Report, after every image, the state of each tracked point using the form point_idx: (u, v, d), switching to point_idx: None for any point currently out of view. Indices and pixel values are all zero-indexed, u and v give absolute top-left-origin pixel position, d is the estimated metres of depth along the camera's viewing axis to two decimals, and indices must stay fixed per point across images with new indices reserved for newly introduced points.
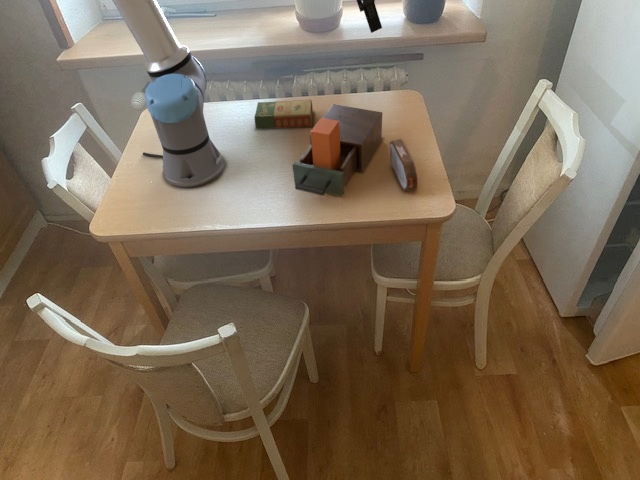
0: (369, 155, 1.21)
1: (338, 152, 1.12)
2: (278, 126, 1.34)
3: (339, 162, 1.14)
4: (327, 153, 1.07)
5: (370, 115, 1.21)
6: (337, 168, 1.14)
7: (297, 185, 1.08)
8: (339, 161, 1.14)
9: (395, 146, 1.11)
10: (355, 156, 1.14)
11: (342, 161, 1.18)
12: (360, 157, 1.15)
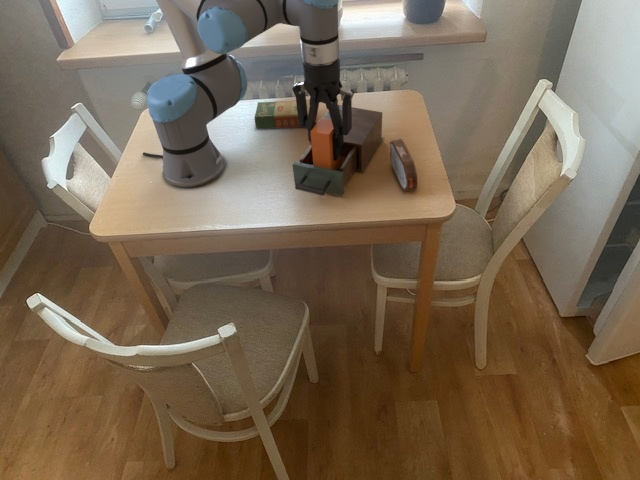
0: (369, 155, 1.21)
1: None
2: (278, 126, 1.34)
3: (339, 162, 1.14)
4: (327, 153, 1.07)
5: (370, 115, 1.21)
6: (337, 168, 1.14)
7: (297, 185, 1.08)
8: (339, 161, 1.14)
9: (395, 146, 1.11)
10: (355, 156, 1.14)
11: (342, 161, 1.18)
12: (360, 157, 1.15)
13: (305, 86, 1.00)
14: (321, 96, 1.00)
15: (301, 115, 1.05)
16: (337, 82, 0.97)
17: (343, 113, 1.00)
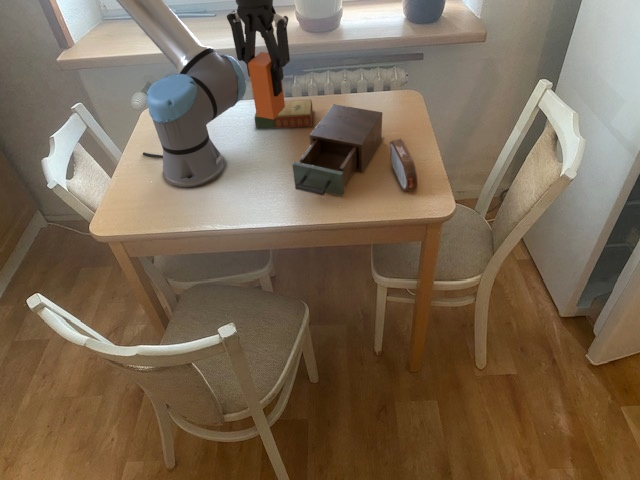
0: (369, 155, 1.21)
1: None
2: (278, 126, 1.34)
3: (282, 100, 1.12)
4: (266, 87, 1.05)
5: (370, 115, 1.21)
6: (280, 106, 1.12)
7: (297, 185, 1.08)
8: (282, 100, 1.12)
9: (395, 146, 1.11)
10: (355, 156, 1.14)
11: (342, 161, 1.18)
12: (360, 157, 1.15)
13: (239, 13, 0.97)
14: (255, 24, 0.97)
15: (238, 47, 1.03)
16: (269, 7, 0.94)
17: (278, 41, 0.98)
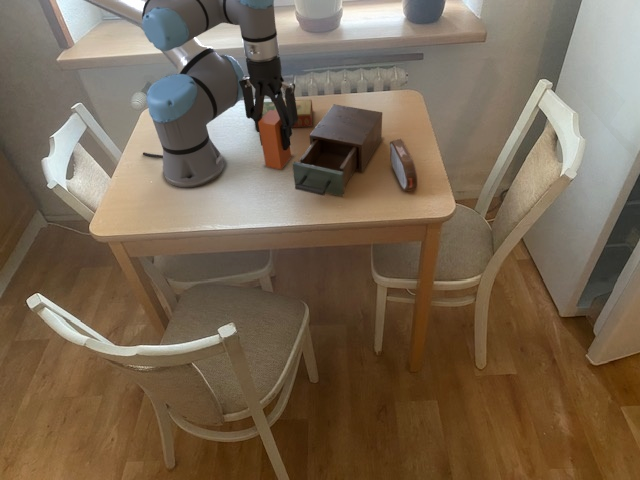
0: (369, 155, 1.21)
1: None
2: None
3: (289, 151, 1.22)
4: (274, 142, 1.15)
5: (370, 115, 1.21)
6: (287, 157, 1.22)
7: (297, 185, 1.08)
8: (289, 151, 1.22)
9: (395, 146, 1.11)
10: (355, 156, 1.14)
11: (342, 161, 1.18)
12: (360, 157, 1.15)
13: (250, 80, 1.08)
14: (265, 90, 1.08)
15: (248, 107, 1.13)
16: (278, 77, 1.05)
17: (287, 105, 1.08)
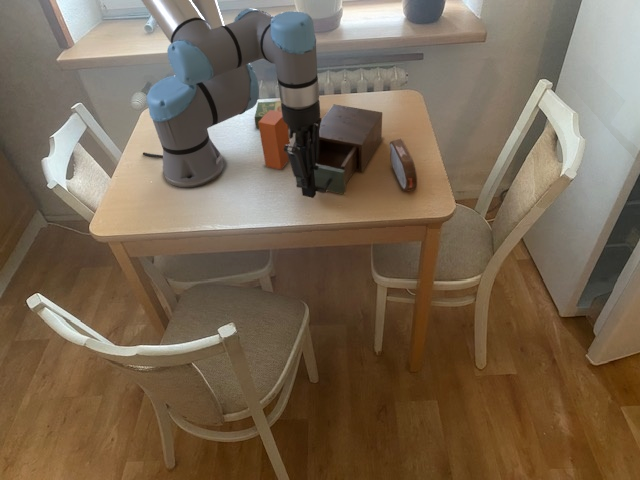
0: (369, 155, 1.21)
1: (287, 142, 1.20)
2: None
3: None
4: (274, 142, 1.15)
5: (370, 115, 1.21)
6: (287, 157, 1.22)
7: (298, 183, 1.08)
8: None
9: (395, 146, 1.11)
10: (356, 154, 1.15)
11: (343, 159, 1.19)
12: (360, 157, 1.15)
13: None
14: None
15: None
16: (290, 128, 0.92)
17: None
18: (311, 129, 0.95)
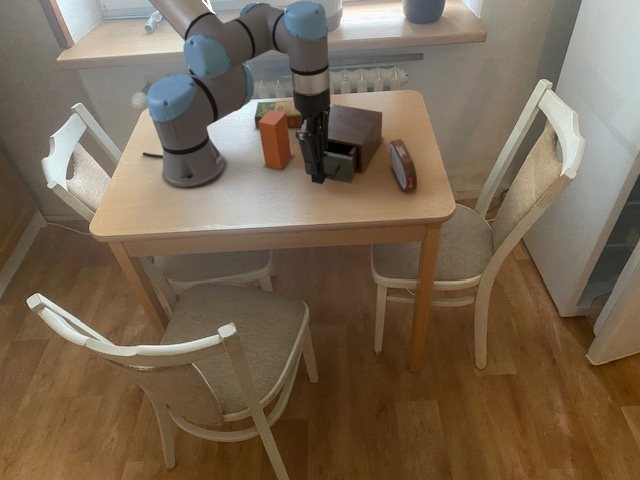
0: (369, 155, 1.21)
1: (287, 142, 1.20)
2: None
3: (289, 151, 1.22)
4: (274, 142, 1.15)
5: (370, 115, 1.21)
6: (287, 157, 1.22)
7: (308, 170, 1.11)
8: (289, 151, 1.22)
9: (395, 146, 1.11)
10: None
11: (351, 148, 1.22)
12: (360, 157, 1.15)
13: None
14: None
15: None
16: (302, 115, 0.95)
17: None
18: (321, 116, 0.99)
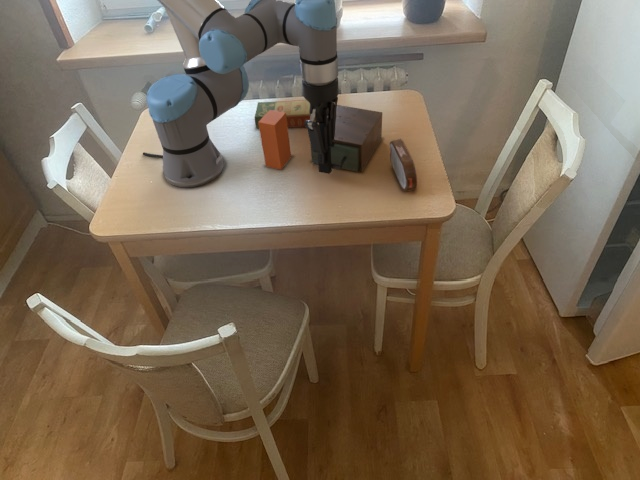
0: (369, 155, 1.21)
1: (287, 142, 1.20)
2: None
3: (289, 151, 1.22)
4: (274, 142, 1.15)
5: (370, 115, 1.21)
6: (287, 157, 1.22)
7: (315, 160, 1.14)
8: (289, 151, 1.22)
9: (395, 146, 1.11)
10: None
11: None
12: (360, 157, 1.15)
13: None
14: None
15: None
16: (311, 104, 0.98)
17: None
18: (329, 106, 1.01)
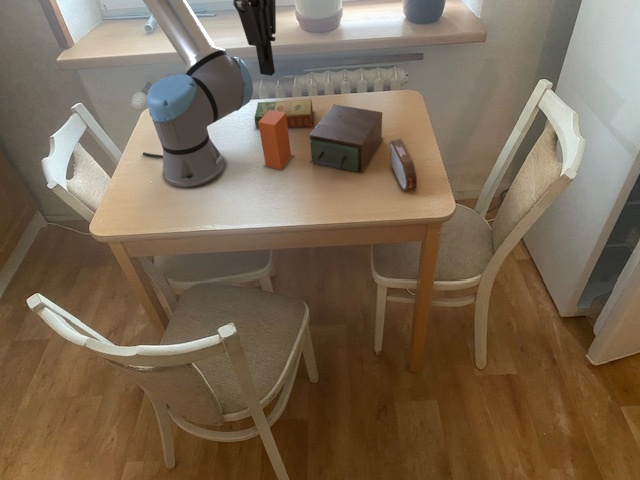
0: (369, 155, 1.21)
1: (287, 142, 1.20)
2: None
3: (289, 151, 1.22)
4: (274, 142, 1.15)
5: (370, 115, 1.21)
6: (287, 157, 1.22)
7: (315, 160, 1.14)
8: (289, 151, 1.22)
9: (395, 146, 1.11)
10: None
11: None
12: (360, 157, 1.15)
13: None
14: None
15: None
16: None
17: None
18: None
